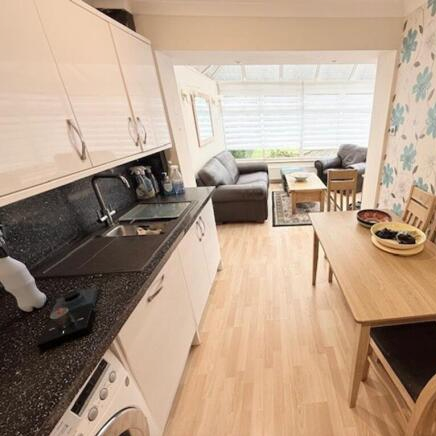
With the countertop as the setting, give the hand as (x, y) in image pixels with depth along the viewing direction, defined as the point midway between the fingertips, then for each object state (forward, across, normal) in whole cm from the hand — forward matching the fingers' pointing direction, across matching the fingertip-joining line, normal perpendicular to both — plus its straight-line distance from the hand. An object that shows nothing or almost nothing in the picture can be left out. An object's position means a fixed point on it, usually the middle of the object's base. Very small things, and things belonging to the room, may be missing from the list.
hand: (5, 256), depth 72 cm
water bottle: (+27, +12, +7) cm, 30 cm away
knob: (+24, -10, -8) cm, 27 cm away
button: (+23, +4, -7) cm, 25 cm away
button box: (+27, +4, -7) cm, 28 cm away
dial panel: (+27, -10, -8) cm, 30 cm away
